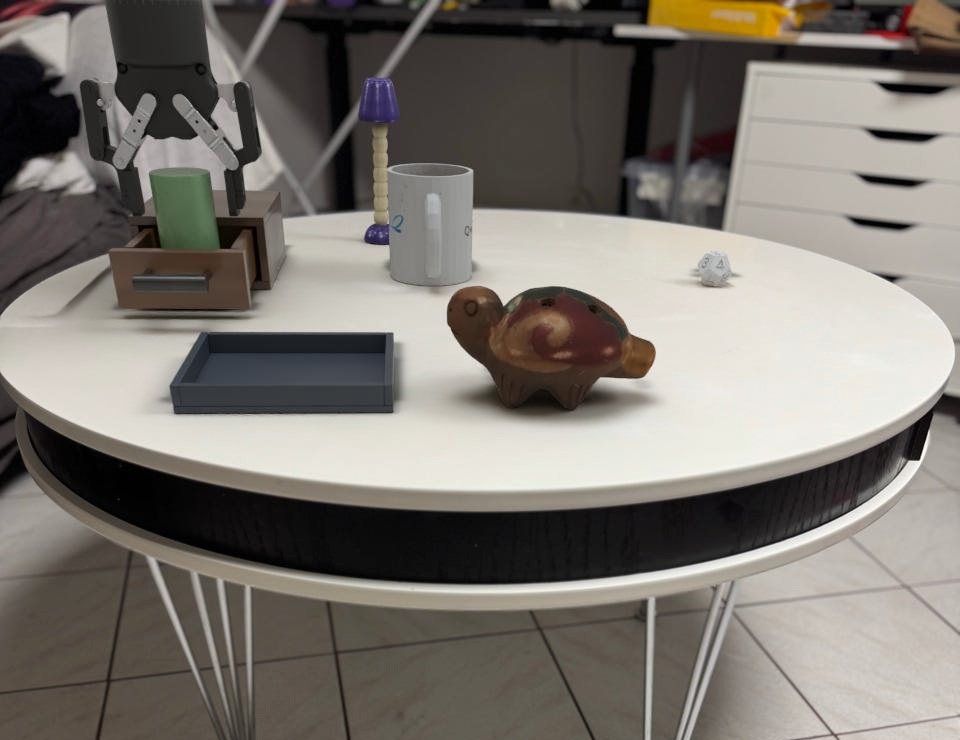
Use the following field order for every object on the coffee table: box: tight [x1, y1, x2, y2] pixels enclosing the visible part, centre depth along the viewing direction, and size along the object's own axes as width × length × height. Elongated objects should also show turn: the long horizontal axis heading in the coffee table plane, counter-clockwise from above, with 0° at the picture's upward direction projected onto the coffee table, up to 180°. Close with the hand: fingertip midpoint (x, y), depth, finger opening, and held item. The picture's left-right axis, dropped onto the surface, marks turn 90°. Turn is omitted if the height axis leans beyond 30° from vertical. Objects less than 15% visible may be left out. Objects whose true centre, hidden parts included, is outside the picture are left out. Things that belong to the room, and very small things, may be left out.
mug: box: [387, 162, 474, 287], centre depth 92 cm, size 12×9×10 cm
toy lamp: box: [357, 77, 401, 245], centre depth 104 cm, size 5×5×17 cm
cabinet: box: [127, 189, 287, 290], centre depth 93 cm, size 15×13×7 cm
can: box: [148, 166, 220, 249], centre depth 82 cm, size 5×5×9 cm
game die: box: [696, 250, 733, 287], centre depth 95 cm, size 4×4×3 cm
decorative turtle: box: [446, 285, 657, 411], centre depth 65 cm, size 10×15×8 cm, turn 98°
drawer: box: [107, 225, 260, 310], centre depth 83 cm, size 18×11×5 cm, turn 4°
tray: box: [169, 331, 395, 414], centre depth 68 cm, size 15×12×2 cm
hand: (187, 214), depth 82 cm, fingers open, 8 cm apart
